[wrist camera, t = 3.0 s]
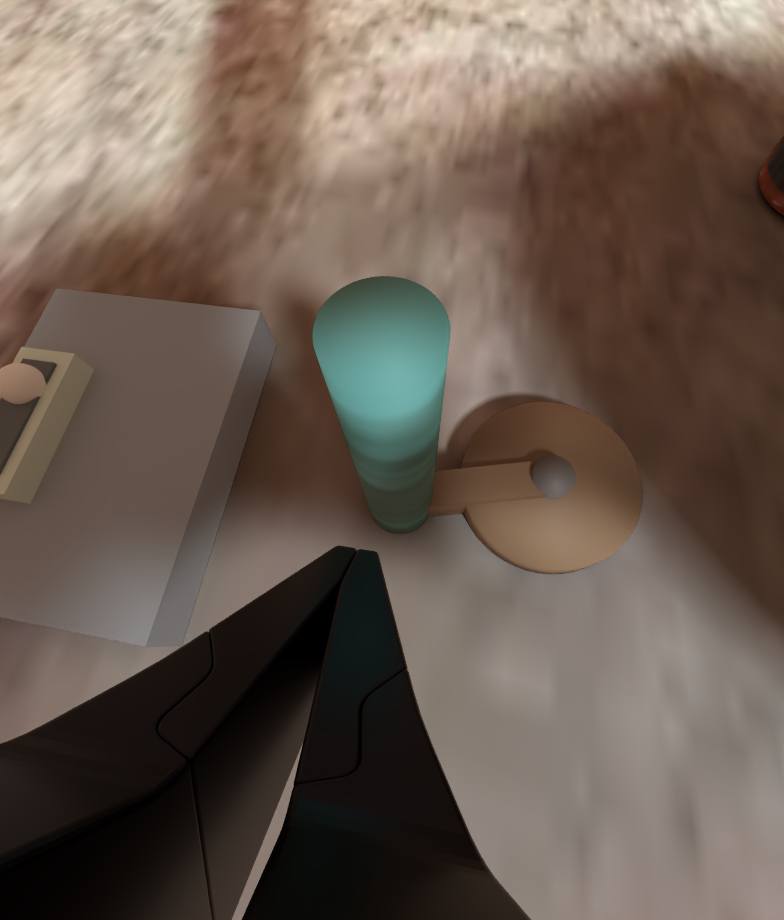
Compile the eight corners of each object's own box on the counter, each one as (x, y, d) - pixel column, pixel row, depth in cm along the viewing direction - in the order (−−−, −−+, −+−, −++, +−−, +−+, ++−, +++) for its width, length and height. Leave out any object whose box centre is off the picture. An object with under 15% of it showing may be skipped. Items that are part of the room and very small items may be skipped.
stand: (181, 646, 18) (101, 647, 13) (-48, 600, 19) (-194, 587, 14) (276, 344, 23) (242, 271, 18) (91, 322, 24) (16, 248, 19)
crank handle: (630, 588, 18) (960, 503, 7) (361, 543, 19) (288, 412, 8) (628, 425, 20) (868, 180, 9) (390, 395, 21) (365, 145, 11)
